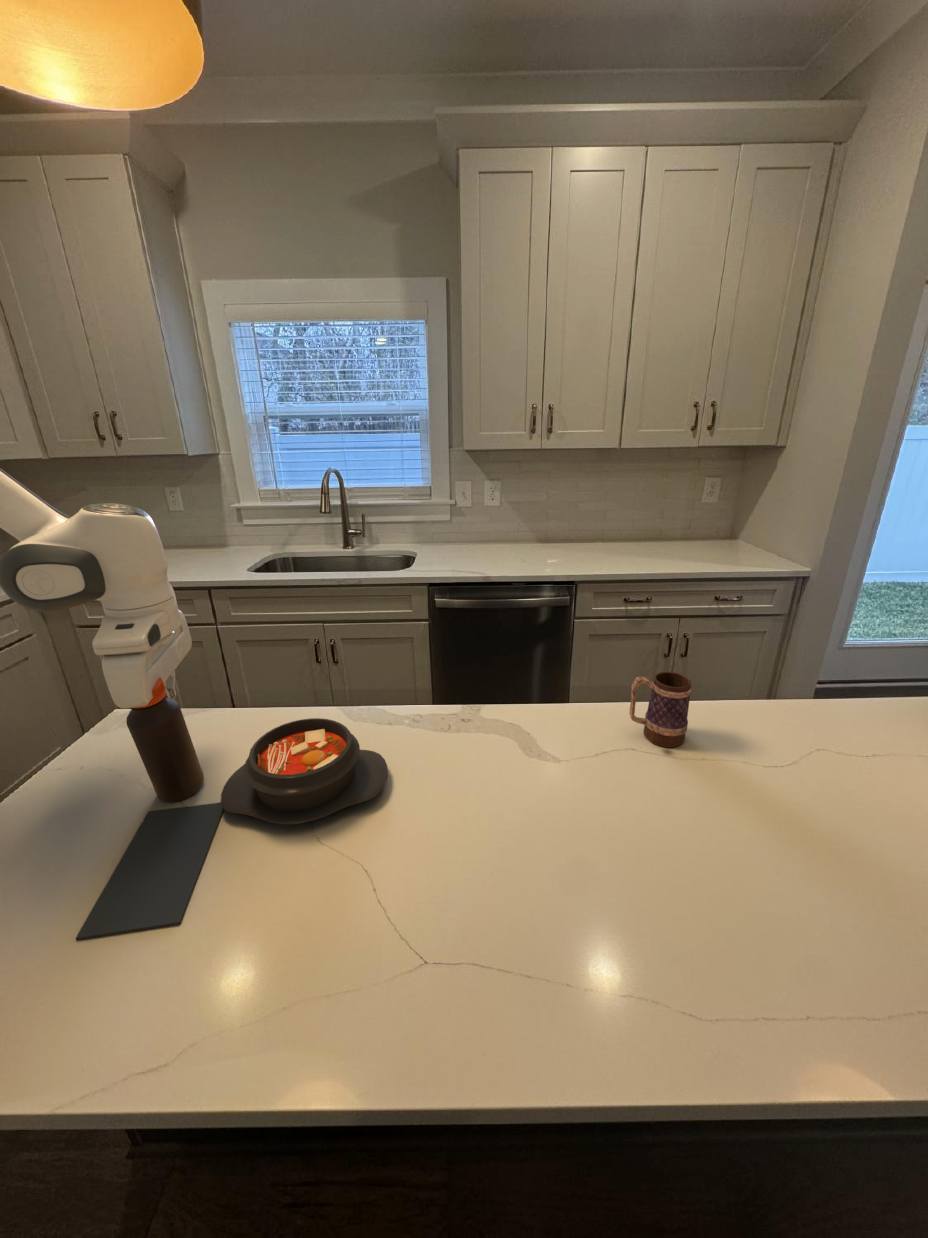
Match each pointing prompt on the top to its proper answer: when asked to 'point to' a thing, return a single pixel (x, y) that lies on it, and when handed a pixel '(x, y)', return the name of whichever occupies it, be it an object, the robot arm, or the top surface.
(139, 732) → the vinegar
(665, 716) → the mug
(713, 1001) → the top surface
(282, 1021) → the top surface
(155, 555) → the robot arm
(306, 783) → the casserole
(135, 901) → the mat
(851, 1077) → the top surface
